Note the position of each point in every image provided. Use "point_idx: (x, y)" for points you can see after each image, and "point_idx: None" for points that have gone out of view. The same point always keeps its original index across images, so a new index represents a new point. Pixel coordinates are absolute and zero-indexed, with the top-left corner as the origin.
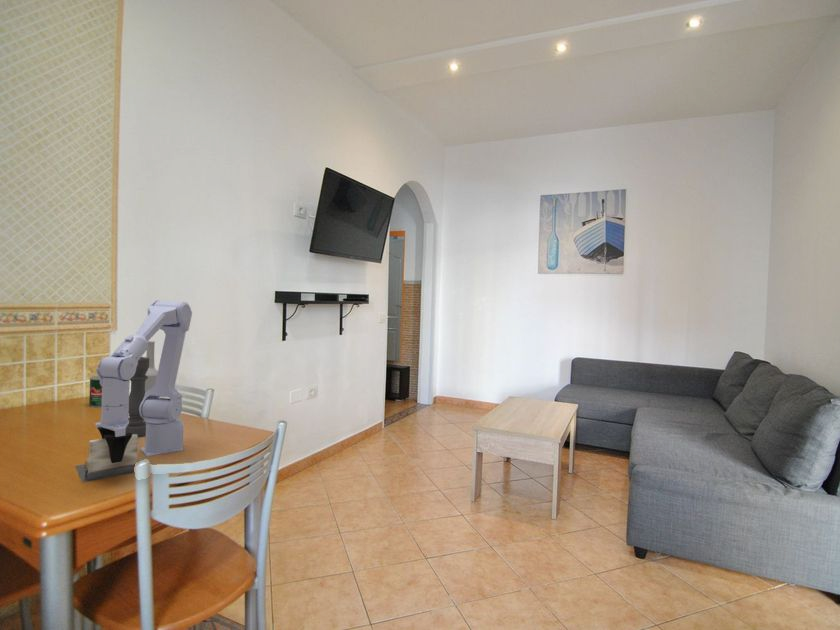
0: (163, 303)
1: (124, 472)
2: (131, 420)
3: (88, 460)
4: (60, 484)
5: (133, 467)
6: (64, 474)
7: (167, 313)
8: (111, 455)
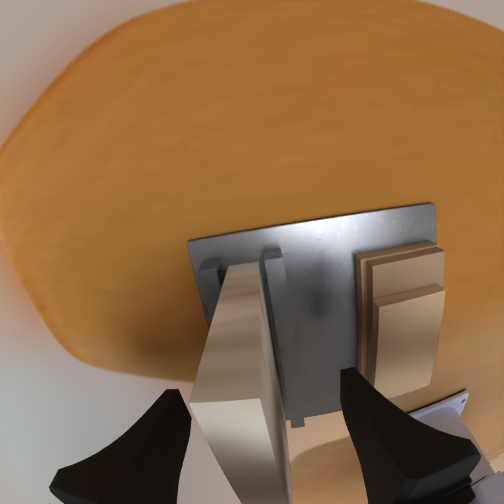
0: None
1: None
2: None
3: (418, 264)
4: (228, 151)
5: None
6: (365, 160)
7: None
8: (144, 417)
